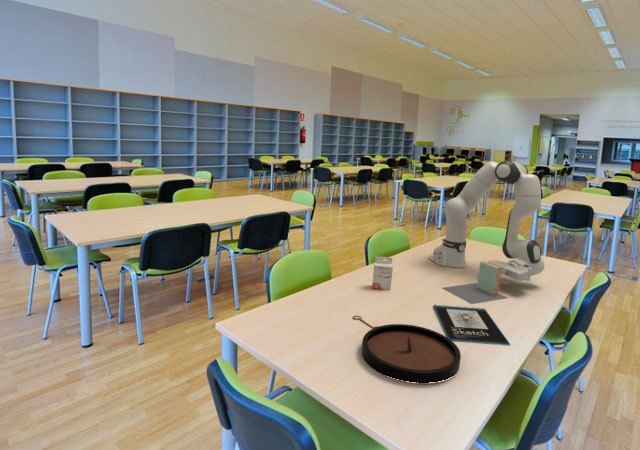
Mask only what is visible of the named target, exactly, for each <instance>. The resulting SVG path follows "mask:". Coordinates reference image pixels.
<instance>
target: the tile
mask: <svg viewBox="0 0 640 450" xmlns="http://www.w3.org/2000/svg"><path fill="white" fill-rule="evenodd" d="M501 275H502V274H501V267H498V266H496V265H493V264H491V263H488V261H486V260H483V261H480V262H479V267H478V277H477V282H476V283H477V288H479V289H481V290H483V291H485V292H487V293H489V294H492V295H497V294H498V293H499V288H500V281H501Z"/></svg>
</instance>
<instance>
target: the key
mask: <svg viewBox="0 0 640 450" xmlns="http://www.w3.org/2000/svg"><path fill="white" fill-rule="evenodd" d="M352 319H353V320H355V321H360V322H361V323H363V324H364V325H366V326H367V327H369V328H371V329H373V328H376V327H379V326H380V325H377V326H372V325H371V324H370V323H368V322H366V321H365V320H363V317H362V316H361V315H354V316H352Z"/></svg>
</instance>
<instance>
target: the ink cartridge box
mask: <svg viewBox="0 0 640 450" xmlns="http://www.w3.org/2000/svg"><path fill="white" fill-rule="evenodd" d="M393 269H394V268H393V257H390V256H389V257H388V256H377V255H376V256H375V257H374V262H373V273H372V275H373V276H372V285H371V286H372V289H373V288H374V289H373V290H382V289H384V290H383V291H391V288H392V281H393V280H392V279H393Z"/></svg>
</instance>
